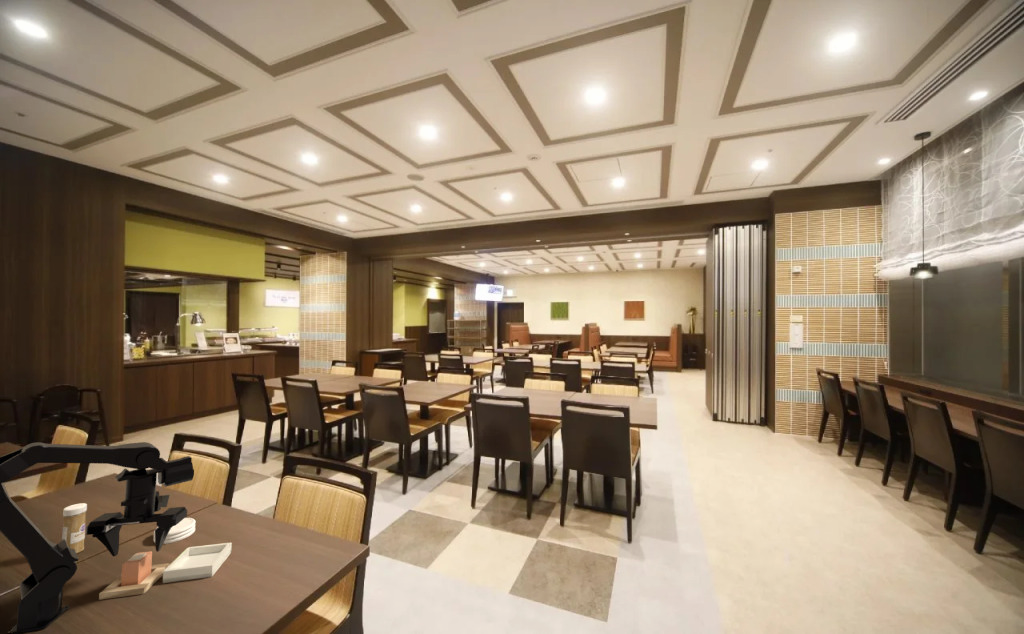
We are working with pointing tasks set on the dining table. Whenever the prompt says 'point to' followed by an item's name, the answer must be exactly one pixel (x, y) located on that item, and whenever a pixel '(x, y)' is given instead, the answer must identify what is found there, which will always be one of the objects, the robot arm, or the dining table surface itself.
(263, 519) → the dining table surface
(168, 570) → the tray
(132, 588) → the holder
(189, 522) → the coaster
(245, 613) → the dining table surface
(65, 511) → the sprinkles bottle
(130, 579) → the block
